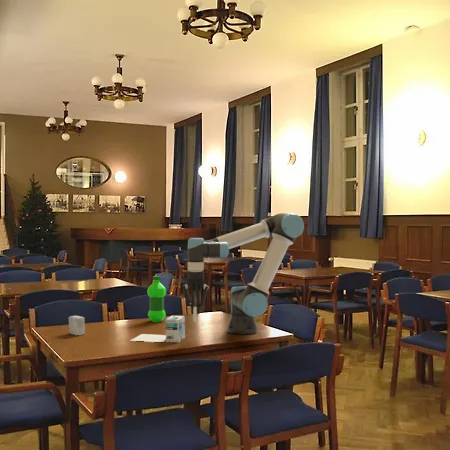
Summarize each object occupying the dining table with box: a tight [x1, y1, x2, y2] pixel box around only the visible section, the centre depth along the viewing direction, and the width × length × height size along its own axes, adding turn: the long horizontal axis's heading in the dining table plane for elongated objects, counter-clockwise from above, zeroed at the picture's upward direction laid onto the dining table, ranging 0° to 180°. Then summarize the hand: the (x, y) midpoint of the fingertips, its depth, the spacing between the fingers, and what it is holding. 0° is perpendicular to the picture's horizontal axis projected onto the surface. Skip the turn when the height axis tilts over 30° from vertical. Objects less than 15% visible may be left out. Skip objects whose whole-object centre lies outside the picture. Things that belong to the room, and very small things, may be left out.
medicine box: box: [68, 315, 86, 336], centre depth 286 cm, size 8×4×9 cm, turn 47°
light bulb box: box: [165, 315, 186, 343], centre depth 273 cm, size 11×7×11 cm, turn 168°
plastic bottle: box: [146, 275, 167, 323], centre depth 319 cm, size 10×10×25 cm
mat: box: [129, 333, 166, 343], centre depth 276 cm, size 16×15×1 cm
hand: (195, 320), depth 270 cm, fingers closed
